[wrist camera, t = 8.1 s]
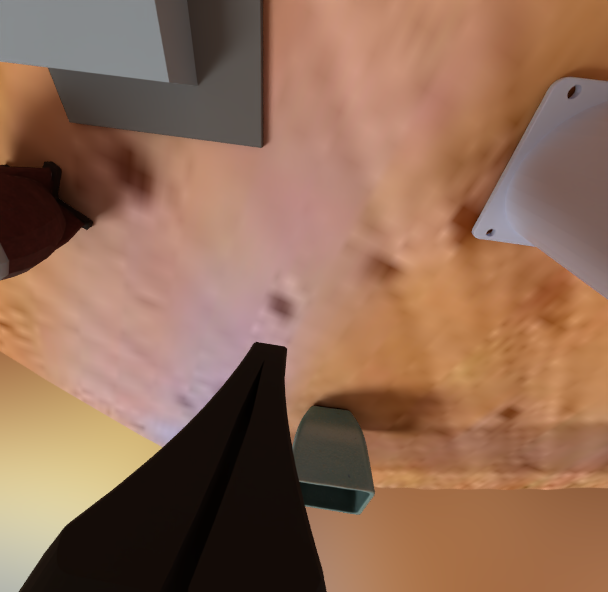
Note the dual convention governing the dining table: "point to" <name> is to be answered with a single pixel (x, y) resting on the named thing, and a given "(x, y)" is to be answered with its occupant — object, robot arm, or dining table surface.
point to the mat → (186, 98)
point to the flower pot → (333, 461)
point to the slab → (101, 37)
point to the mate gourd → (33, 217)
